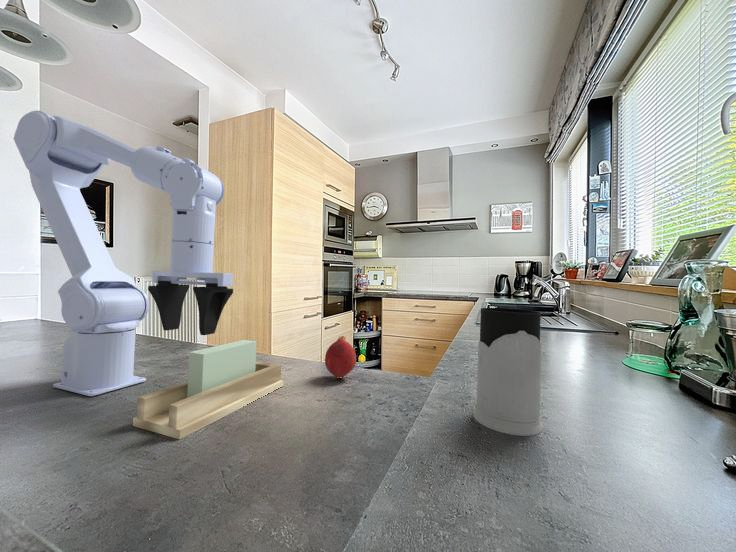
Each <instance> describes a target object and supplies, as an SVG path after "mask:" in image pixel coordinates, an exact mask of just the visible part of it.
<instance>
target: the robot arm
mask: <svg viewBox="0 0 736 552" xmlns="http://www.w3.org/2000/svg"><path fill="white" fill-rule="evenodd" d="M13 141H14V143H15V146H16V148H17V149H18V152H19V154H20V156H21V159H22V161H23V163H24V165H25V167H26V169H27V170H28V171H29V172H28V173H29V179H30V183H31V187H32V190H33V191H34V194H35V196H36V198H37V201H38V202H39V205H40V208H41V210H42V211H43V212H42V213H43V214H44V216H45V219H46V220H47V222H48V225H49V227H50V229H51V231H52V234H53V236H54V239H55V240H56V243H57V246H58V247H59V250H60V252H61V254H62V257H63V259H64V261H65V263H66V266H67V268H68V269H69V272H70V274H71V277H70V278H69V279H68V280H66V281H65V282H64V283H63V284H62V285H61V286H60V288H59V289H58V291H57V293H58V295H59V298H60V302H61V316H62V319H63V321H64V322H65V324H66V325H67V326H68V327H69V328H70V329H71V330H70V331H71V332H72V333H71V334H70V335H68V336H67V338H66V339H65V341H64V342H63V345H62V346H63V347H62V359H61V374H60V375H61V378H60V379H61V380H60V381H59V382H56V383H53V385H52V386H53V387H52V388H57V389H60V390H64V391H68V392H72V393H76V394H79V395H83V396H88V397H95V396H98V395H102V394H105V393H108V392H111V391H116V390H118V389H122V388H123V389H124V388H126V387H130V386H133V385H136V384H139V383H143V382H147V378H146V377H143V376H142V377H141V376H139V375H138V376H137V375H135V374H134V371H135V369H134V367H135V347H136V332H137V331H136V330H137V329H136V328H140V325H141V322H142V321H143V320H144V319H145V318H146V317H147V315H148V314H149V313H148V312H149V309H150V301H149V297H148V295H147V293H146V292H145V291H143V290H142V289H141V288H140V287H139V286H138V285H137V283H136V282H135V279H134V278H133V277H131V276H130V275H128V274H127V273H125V272H123V271H121V270H120V269H118V268H116V265H115V264H114V261H113V258H112V257H111V255H110V253H109V250H108V248H107V246H106V244H105V241H104V240H103V237H102V236H101V233H100V231H99V229H98V227H97V225H96V223H95V220H94V218H93V216H92V213H91V212H90V209H89V208H88V205H87V202H86V200H85V199H84V197H83V195H82V193H81V189H83V188H88V187H90V185H91V184H92V182H94V180H95V179H96V178H97V175H99V173H100V172H101V171H102V169H103V168H104V166H110V163H111V161H114V162H116V163H119V164H121V165H124V166H126V167H128V168H130V170H131V173H132V174H133V176H134V177H135V178H136V179H137V180H138V181H140V182H143V183H145V184H147V185H150V186H152V187H154V188H155V189H158V190H161V191H162V192H165V193H166V194H168V195H169V198H170V202H169V203H170V207H171V209H172V221H171V222H172V224H171V225H172V226H171V242H170V244H171V245H170V264H169V270H168V271H167V270H152V281H151V282H152V283H153V284H156V285H148V286H147V290H148V292H149V294H150V295H151V297H152V298H153V300H154V302H155V305H156V307H157V310H158V313H159V316H160V317H159V318H160V321H161V326H162V329H163V331H166V332H167V331H173V330H179V328H180V325H181V321H182V313H183V312H182V310H183V305H184V301H185V298H186V296H187V293H188V291H189V289H190V285H196V286H193V287H192V291H193V294H194V296H195V298H196V303H197V307H198V308H197V309H198V329H199V334H200V335H201V336H207V335H214V334H215V333H216V330H217V327H218V323H219V320H220V318H221V315H222V312H223V310H224V308H225V305H227V303H228V301H229V299H230V298H231V297H232V295H233V294H234V288H229V287H233V286H234V273H228V272H226V273H225V272H224V273H223V272H213V269H214V251H215V249H214V247H215V228H216V210H217V207H216V206H218V205H219V204H220V203H221V202H222V200H223V198H224V196H225V185H224V183H223V181H222V180H221V179H220V178H219V177H218V176H217V175H215V174H214V173H213V172H210V171H209V170H207V169H205V168H204V167H202V166H200V165H198V164H197V163H195V161H194V160H192V159H189V158H187V157H185V158H183V159H182V158H180V157H177V156H174V155H172V154H171V153H172V151H171V150H169V149H167V148H165V147H164V146H162V145H157V147H153V146H149V145H146V146H142V147H140V148H138V149H137V148H135V147H133V146H131V145H128V144H126V143H125V142H122V141H120V140H117V139H116V138H113V137H111V136H109V135H107V134H105V133H102V132H100V131H98V130H97V129H94V128H91V127H90V126H87V125H83V124H81V123H78V122H75V121H72V120H69V119H67V118H64V117H61V116H58V115H53V116H51V115H49V114H48V113H46V112H45V111H42V110H32V111H29V112H27V113H25V114H24V115H23V116H22V117H21V118H20V119H19V121H18V123H17V127H16V129H15V131H14V136H13ZM188 278H196V280H195V281H194V280H192V281H191V280H187V279H188Z"/></svg>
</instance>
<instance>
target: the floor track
mask: <svg viewBox="0 0 736 552" xmlns="http://www.w3.org/2000/svg"><path fill="white" fill-rule="evenodd" d="M281 378H282V364H276V363H269V362H264V361H263V362H262V361H257V360H256V368H255V372H254V373H251V374H249V375H246V376H243V377H241V378H238V379H235V380H233V381H230V382H228V383H225V384H222V385H220V386H217V387H215V388H212V389H209V390H207V391H204V392H201V393H199V394H196V395H194V396H191V397H188V398H187V388H188V380H187V381H183V382H180V383H178V384H174V385H171V386H167V387H165V388H162V389H159V390H156V391H152V392H148V393H146V394H144V395H141V396H138V397H137V408H136V409H137V410H136V416H134V417H133V419H132V426H133V427H135V428H139V429H142V430H145V431H149V432H153V433H156V434H160V435H164V436H166V437H170V438H173V439H176V440H181V439H184V438H186V437H188V436H189V435H192V434H193V433H195V432H197V431H199V430H201V429H203V428H205V427H207V426H209V425H210V424H213V423H215V422H217V421H219V420H220V419H222V418H224V417H227V416H229V415H230V414H232V413H235V412H236V411H239V410H241V409H242V408H244V407H246V406H248V405H250V404H252V403H254V402H256V401H258V400H259V399H258V398H260V399H261V397H262V398H264V397H266V396H267V394H268V393H270V394H271V392H272V393H274V392H275V391H274V390H276V389H278V388H280V387H282V386H283V387H284V380H282V379H281ZM283 387H282V388H283ZM280 389H281V388H280ZM278 390H279V389H278ZM273 391H274V392H273ZM276 391H277V390H276ZM265 395H266V396H265ZM268 395H269V394H268ZM263 396H264V397H263ZM257 399H258V400H257ZM255 400H256V401H255ZM253 401H254V402H253ZM251 402H252V403H251ZM249 403H250V404H249ZM247 404H248V405H247ZM243 406H244V407H243Z"/></svg>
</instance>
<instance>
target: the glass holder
mask: <svg viewBox="0 0 736 552" xmlns="http://www.w3.org/2000/svg"><path fill="white" fill-rule="evenodd" d="M541 314H542V313H541V311H538V310H530V309H521V308H506V307H481V308H480V322H479V323H480V327H479V329H480V330H479V340H478V343H477V344H478V345H477V347H478V348H477V349H478V351H477V352H478V353H477V377H476V378H477V379H476V380H477V381H476V383H477V385H476V405H475V408H474V409H473V412H472V417H473V418H474V420H475V421H476V422H478V423H479V424H480V425H482V426H484V427H485V428H488V429H490V430H492V431H496V432H498V433H502V434H507V435H512V436H519V437H520V436H521V437H529V436H536V435H539V434H541V433H542V432H543V430H544V425H543V423H542V421H541V417H540V409H541V376H542V375H541V373H542V371H541V370H542V369H541V368H542V343H541V316H542V315H541Z"/></svg>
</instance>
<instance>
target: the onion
mask: <svg viewBox="0 0 736 552" xmlns="http://www.w3.org/2000/svg"><path fill="white" fill-rule="evenodd" d="M346 339H347V338H346V336H345V335H343V334H342V335H339V337H338V338H337V340H336V341H334V342H333V343H332V344H330V346H328V348H327V350H326V352H325V357H324V363H325V367H326V369H327V371H328V372H329V373H330V374H331V375H332V376H334V377H335V378H336V377H339V378H340V377H344V376H345V377H346V376H347V375H348V374H349V373H351V372H352V371H353V369H354V368H355V366H356V365H357V354H356V351H355V349H354V347H353V345H351V344H350V343H349V342H348V341H346ZM345 377H344V378H345Z"/></svg>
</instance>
